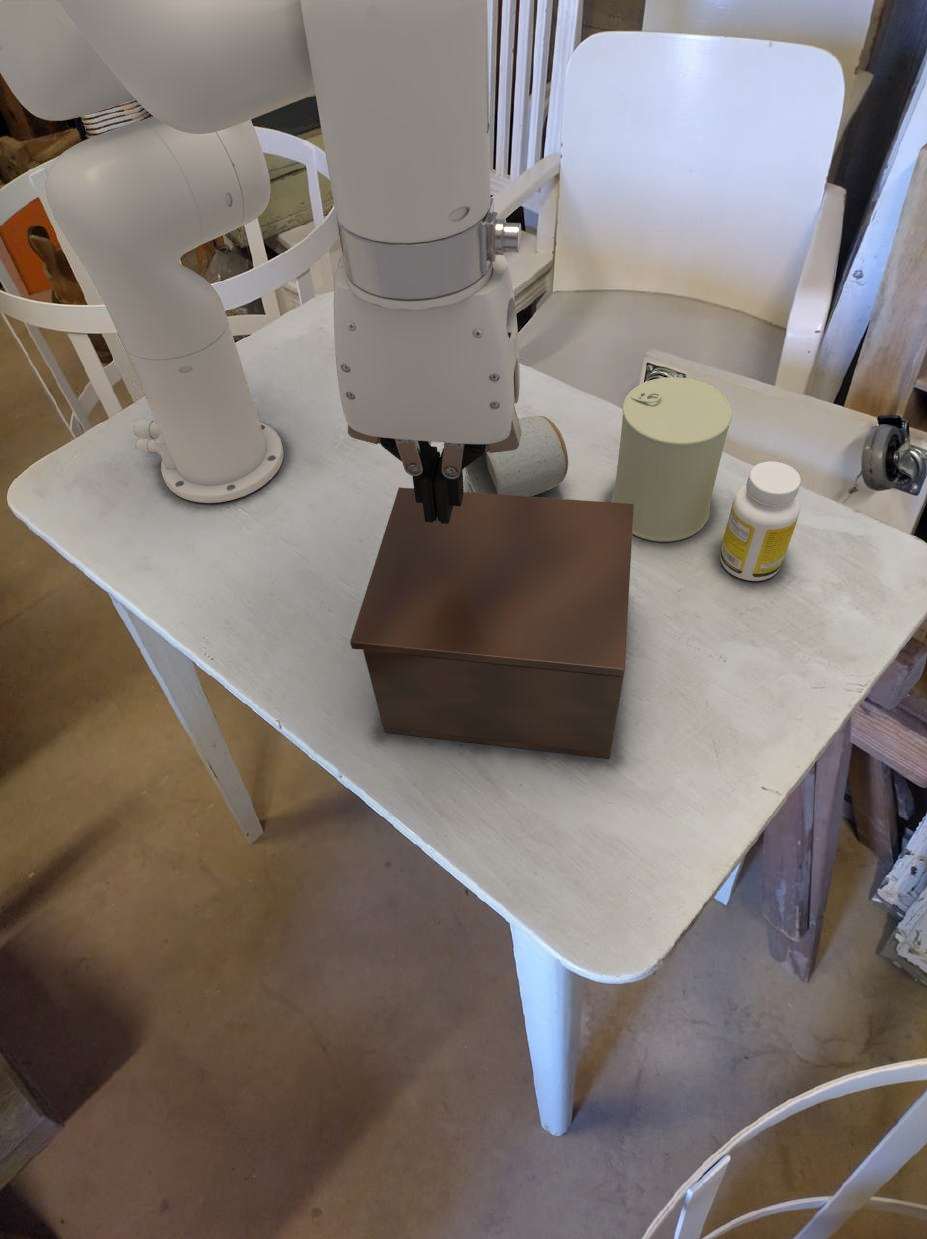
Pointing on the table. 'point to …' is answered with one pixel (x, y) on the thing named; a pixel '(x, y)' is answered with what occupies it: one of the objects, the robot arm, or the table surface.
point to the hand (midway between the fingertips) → (440, 508)
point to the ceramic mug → (523, 462)
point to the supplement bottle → (761, 522)
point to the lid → (503, 583)
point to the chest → (496, 703)
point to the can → (670, 455)
